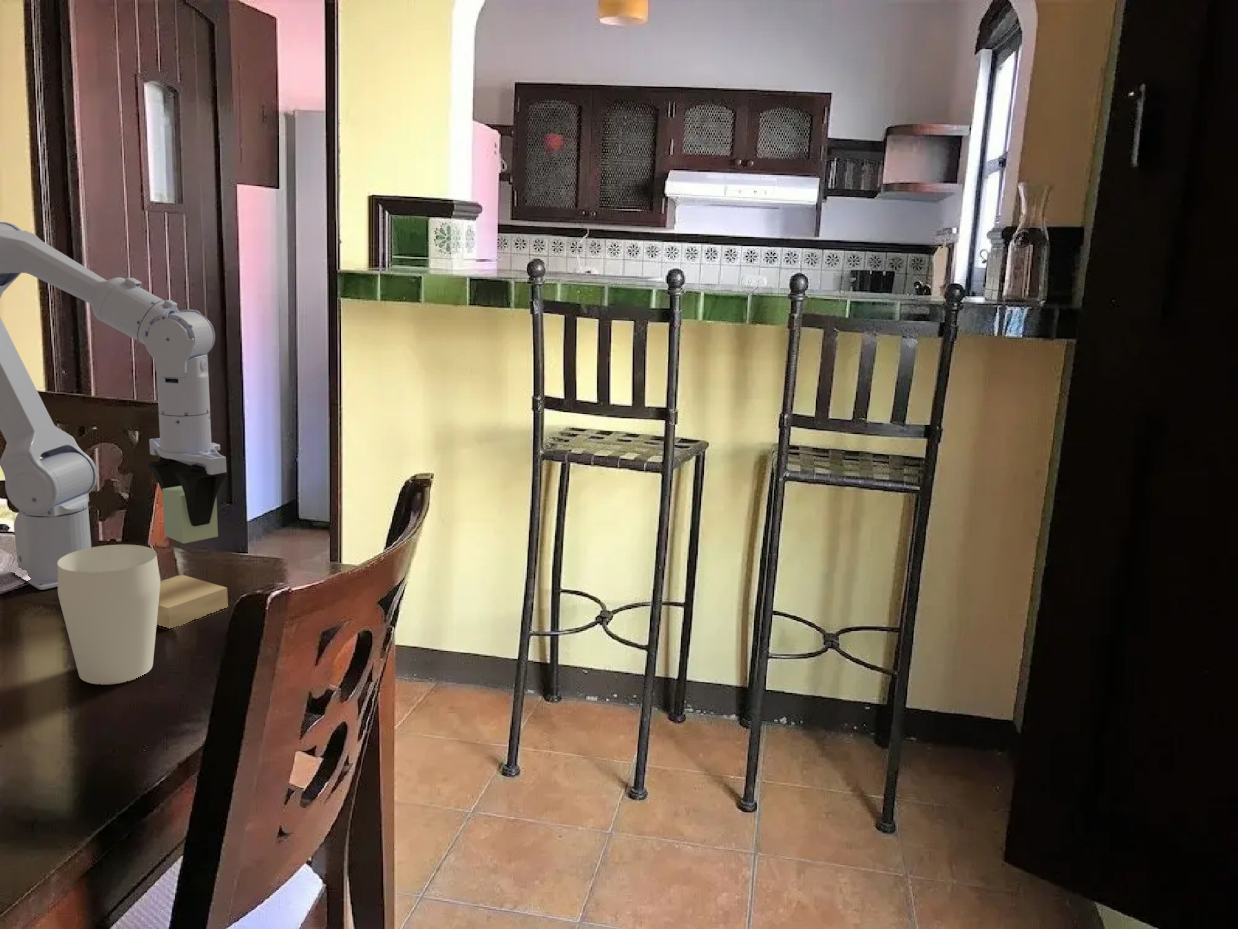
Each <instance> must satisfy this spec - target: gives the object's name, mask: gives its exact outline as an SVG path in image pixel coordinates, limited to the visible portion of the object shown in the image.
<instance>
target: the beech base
mask: <svg viewBox="0 0 1238 929" xmlns="http://www.w3.org/2000/svg"><path fill="white" fill-rule="evenodd" d="M228 600H229V598H228V587H226V586H223V585H218V584H216V583H212V582H208V581H206V580H205V581H204V580H202V579H199V578H195V577H192V576H188V575H184V574H179V575H178V574H177V575H175V576H172V577H170V578H166V579H162V580H160V594H159V604H158V615H157V625H159V626H163V627H167V628H169V629H170V628H173V627H176V626H180V627H182V626H184V625H183V624H185V625H187V624H186V623H188V622H190V621H192V620H194V619H199V618H201V617H203V616H206V615H207V614H210V613H214V612H216V611H219V610H220V609H224V608H227V607H228V608H229V601H228ZM201 619H202V618H201ZM199 620H200V619H199ZM188 624H189V623H188ZM181 625H182V626H181Z"/></svg>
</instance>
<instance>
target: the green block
mask: <svg viewBox="0 0 1238 929" xmlns="http://www.w3.org/2000/svg"><path fill="white" fill-rule="evenodd" d="M161 494H162V509H163V510H162V512H163V530H164V531H163V532H164V536H165V537H167V538H169V539H171V540H175V541H177V542H178V543H181V544H188V543H193V542H199V541H202V540H207V539H211V538H212V539H213V538H218V537H219V527H218V506H217V505H218V504H217V502H218V500H217V497H216V499H215V503H214V507H213V512H212V516H211V520H210V523H209V524H205V525H200V526H192V525H191V522H190V519H189V515H188V509H187V502H186V498H185V494H184V491H183V488H182V486H176V487H170V488H164V489H162V490H161Z"/></svg>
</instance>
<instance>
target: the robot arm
mask: <svg viewBox="0 0 1238 929" xmlns="http://www.w3.org/2000/svg"><path fill="white" fill-rule="evenodd" d="M21 274H29V275H31V277H32V276H33V277H35V278H37V279H39V280H40V281H43V282H45V283H46V284H49V285H50V286H53V287H55V288H57V289H59V290H62V291H63V292H66V293H68V294H70V295H72V296H73V297H76V298H78V299H80V300H81V301H84V302H86V303H89V304H90V306H91V309H92V312H93V315H94V317H95V318H96V319H97V320H98V321H99V322H100V321H101V322H102V323H104V324H105V325H107V326H109V327H111V328H113V329H115V330H117V331H118V332H120V333H123V334H124V335H125V336H128V337H130V338H132V339H133V340H135V341H137V342H139V343H140V344H143V345H144V346H145V349H146V351H147V352H148V354H149V355H150V356H151V357H152V359H153V361H154V364H155V365H154V366H155V372H156V387H157V388H156V389H157V404H158V406H157V407H158V427H159V428H158V430H159V438H158V437H157V438H149V440H148V441H149V442H148V443H149V454H150V455H151V456H159V457H160V458H159V459H158V460H156V461H150V462H148V463H147V466H148V469H149V470H150V471H151V473H152V475H153V476H154V478H155V480H156V481H157V484H158V485H159V488H160V490H161V491H162V489H164V488H170V487H176V486H182V488H183V491H184V494H185V498H186V502H187V509H188V515H189V519H190V522H191V525H192V526H200V525H205V524H209V523H210V520H211V516H212V512H213V507H214V503H215V499H216V498H217V495H218V492H219V490H220V488H221V486H222V484H223V482H224V480H225V479H226V477H227V475H228V470H227V458H226V457H227V456H224V455H222V454H220V453H219V452H218V451H220V450H221V445H220V443H215V442H212V428H211V424H212V423H211V402H210V400H211V399H210V383H209V382H210V380H209V378H210V376H209V362H208V360H209V359H208V353H209V352H210V351H211V350H212V348H213V347H214V346H215V342H216V332H215V328H214V326H213V324H212V322H211V321H210V320H209V319H208V318H207V317H206V316H205V315H203V314H202V313H201V312H200V311H199V310H196V309H191V308H190V309H183V310H179V309H178V307H177V306H178V303H177V302H175V301H174V300H172V299H165V300H164V299H162V298H161V297H159V296H156V295H155V294H153V293H151V292H150V291H148V290H145V289H144V288H142V281H140V280H138V279H136V278H135V277H127V278H124V277H114V278H111V279H105V278H104V277H101V275H98V274H97V273H96V272H94V271H92V270H91V269H89V268H87V267H86V266H84V265H82V264H81V263H79V262H77V261H75V260H74V259H72V258H70V257H69V256H68V255H66V254H65V253H63V252H62V251H59V250H58V249H56V248H55V247H53V246H51V245H50V244H47V243H46V242H44V241H43V240H41V238H39V237H38V236H37V235H36V234H35V233H32V232H30V231H27V230H23V229H21V228H20V227H19V226H18V225H15V224H13V223H11V222H7V221H0V298H1V297H2V295H3V293H4V292H5V291H6V290H7V289H8V288H9V286H11V284H13V283H14V281H16V279H18V277H20V275H21ZM0 432H1V434H2V436H3V438H4V440H5V442H6V446H5V448H4V450H3V452H2V455H1V458H0V468H1V470H2V472H3V475H4V481H5V482H4V483H5V484H4V485H5V486H4V487H5V493H6V495H7V498H8V500H9V502H11V504H12V505H13V506H14V507H15V508H16V509H18V513H17V515H16V517H14V518H15V519H14V524H13V530H14V541H15V550H16V552H15V553H16V559H17V560H16V561H17V562H16V563H17V567H19V568H21V569H22V570H26V571H27V573H28V576H29V577H30V578H31V579H30V580H28V582H27V583H28V584H30V585H31V586H33V587H34V588H36V589H38V590H41V591H42V590H48V589H52V588H56V587H57V588H58V564H57V563H58V561H59V559H60V558H62V557H63V556H65V555H67V554H69V553H72V552H75V551H78V550H82V549H87V548H92V539H91V525H90V514H89V502H90V496H89V494H90V493H91V492H92V491H93V490H94V489H95V487H96V485H97V483H98V479H99V478H98V469H97V466H96V464H95V462H94V460H93V459H92V458H91V457H90V456H89V455H88V454H87V453H86V452H84V451H83V450H82V449H81V447H80V446H79V445H78V443H77V442H76V439H75V438H74V437H73V436H72V435H70V433H67V432H65V431H64V430H62V429H60V428H59V427H57V426H55V424H54V422H53V419H52V417H51V415H50V414H49V412H48V410H47V408H46V406H45V404H44V401H43V400H42V397H41V395H40V393H39V392H38V390H37V387H36V386H35V384H34V382H33V380H32V378H31V376H30V374H29V371H28V370H27V368H26V366H25V364H24V362H23V360H22V358H21V356H20V354H19V351H18V350H17V348H16V345H15V344H14V342H13V340H12V337H11V336H10V334H9V331H8V330H7V327H6V326H5V324H4V322H3V320H2V317H0Z"/></svg>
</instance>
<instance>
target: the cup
mask: <svg viewBox="0 0 1238 929" xmlns="http://www.w3.org/2000/svg"><path fill="white" fill-rule="evenodd" d="M57 564H58V586H57V594H58V595H57V596H58V600H59V604H60V607H61V611H62V615H63V619H64V623H65V626H66V627H65V628H66V631H67V634H68V640H69V642H70V646H71V650H72V654H73V657H74V662H75V665H76V669H77V673H78V677H79V679H81V680H82V681H84V682H86V683H88V684H93V685H99V684H100V685H102V686H103V685H116V684H118V685H119V684H123V683H127V681H128V682H130V681H133V680H137V679H138V677H139V678H141V677H143V676H144V674H145V675H146V674H147V673H149V672H151V670H152V668H153V667H154V658H155V657H154V656H155V655H154V654H155V648H156V647H155V645H156V634H157V627H158V626H157V615H158V604H159V594H160V581H161V576H160V570H159V561H158V555H157V551H156V550H155V549H154V548H151V547H148V546H144V545H140V544H139V545H136V544H107V545H98V546H91V548H87V549H82V550H78V551H75V552H72V553H69V554H67V555H65V556H63V557H62V558H60V559H59V561H58V563H57ZM142 675H143V676H142ZM140 676H141V677H140ZM136 678H137V679H136Z"/></svg>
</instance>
